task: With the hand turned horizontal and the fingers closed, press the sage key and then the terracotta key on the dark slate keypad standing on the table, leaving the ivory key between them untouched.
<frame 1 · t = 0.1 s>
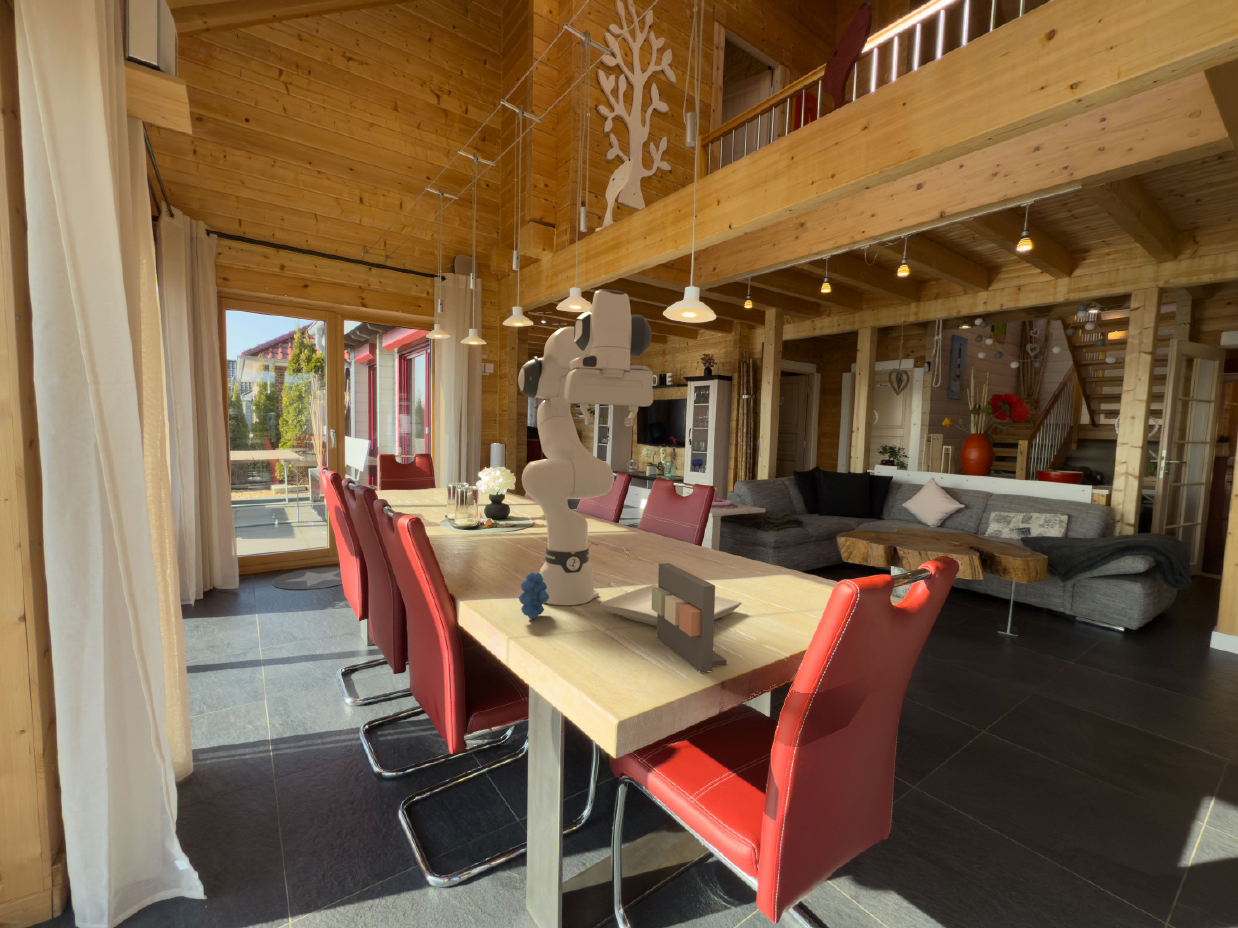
hand: (609, 425, 124), 48 cm above the table, tool pointing down, fingers open, 8 cm apart
key terracotta: (694, 619, 110), point 10 cm above the table, slide at 0.0 cm
grapes: (536, 620, 137), on the table
square plate: (671, 616, 144), on the table
keyguard: (681, 653, 117), on the table
key sage: (664, 600, 122), point 10 cm above the table, slide at 0.0 cm
key ivory: (678, 609, 116), point 10 cm above the table, slide at 0.0 cm
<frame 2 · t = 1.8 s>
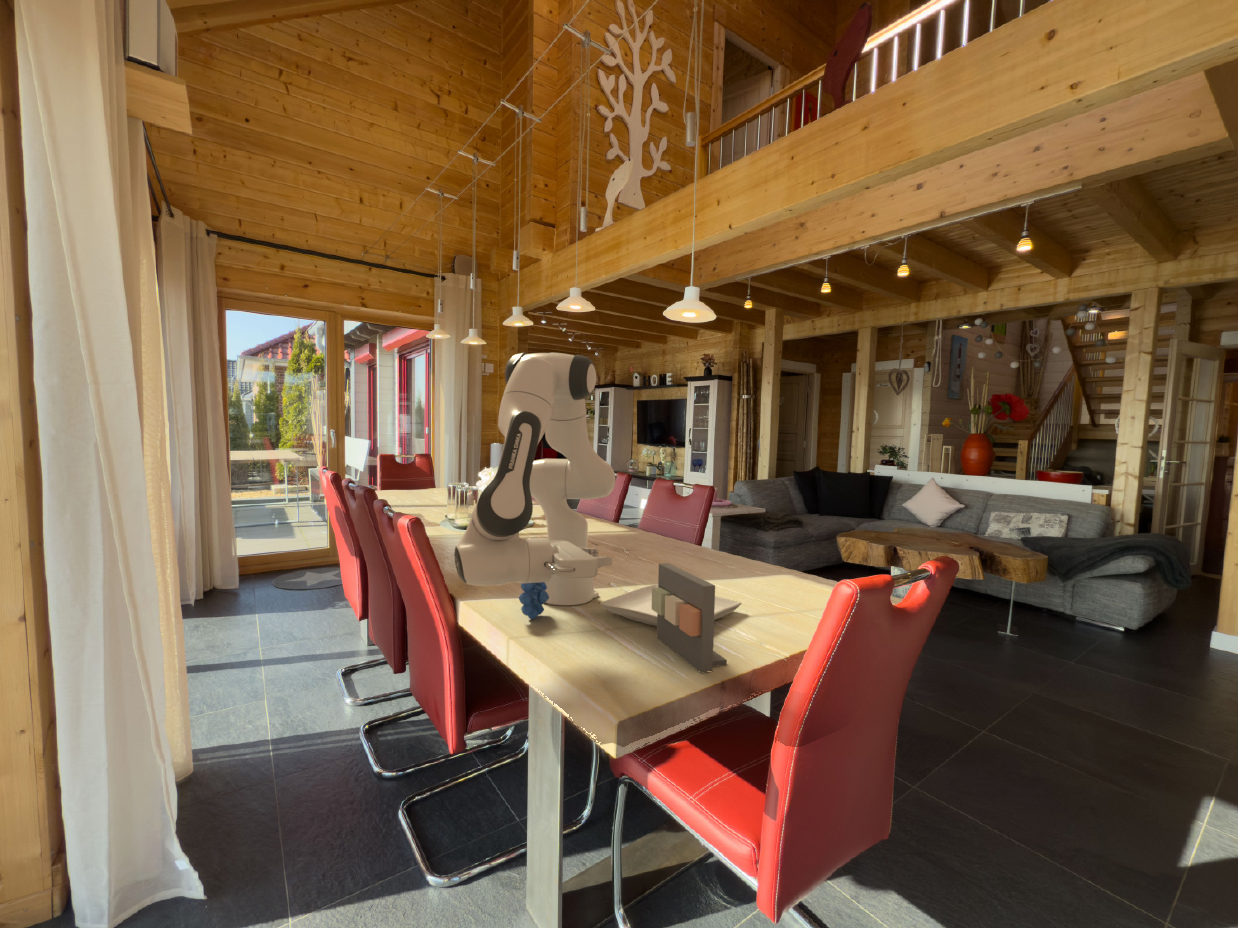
hand: (603, 556, 117), 20 cm above the table, tool horizontal, fingers open, 7 cm apart
nothing on the table moved.
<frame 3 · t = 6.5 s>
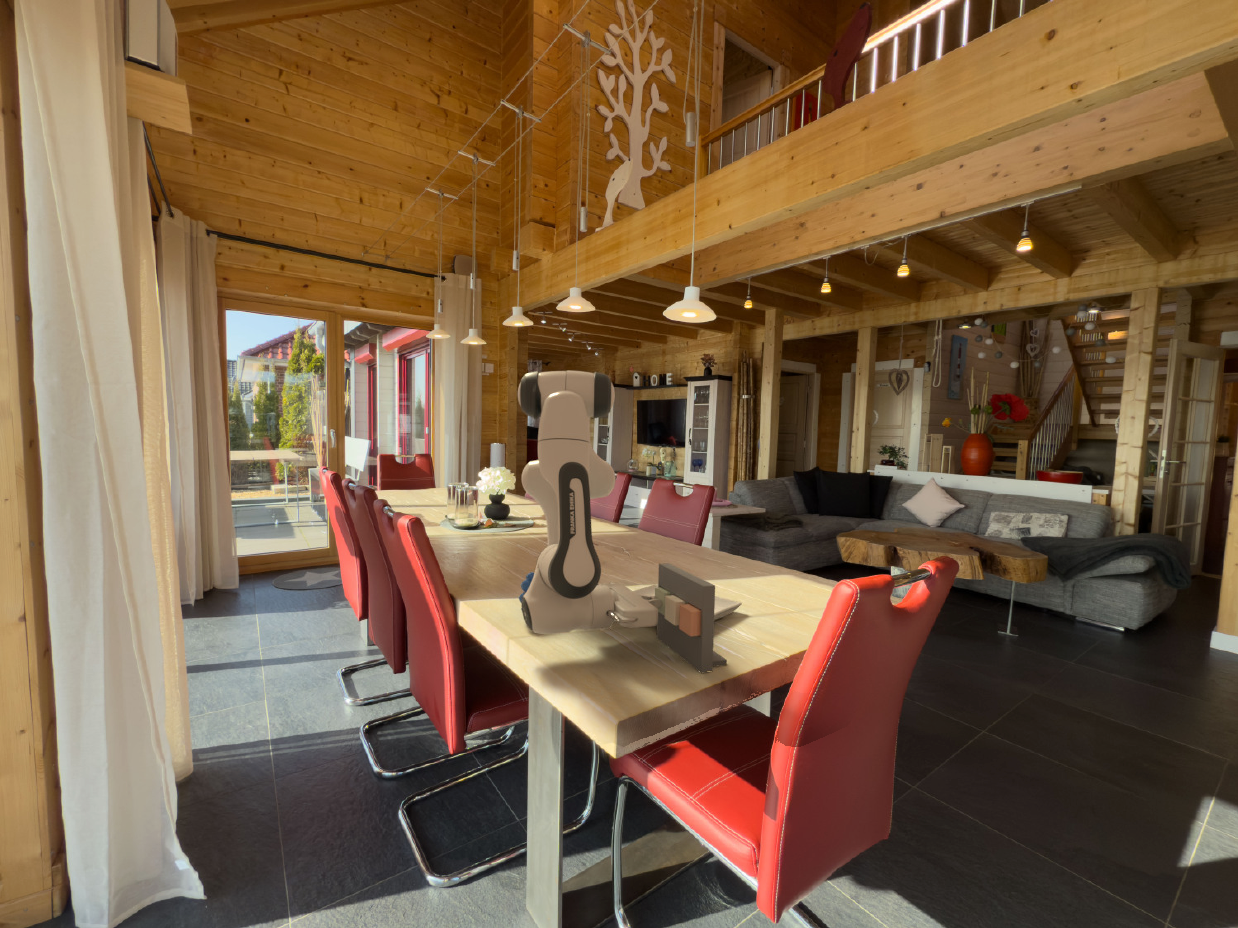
hand: (659, 601, 122), 9 cm above the table, tool horizontal, fingers closed, pressing on key sage
key sage: (667, 600, 123), point 10 cm above the table, slide at 0.7 cm, touching gripper
everything else where it was.
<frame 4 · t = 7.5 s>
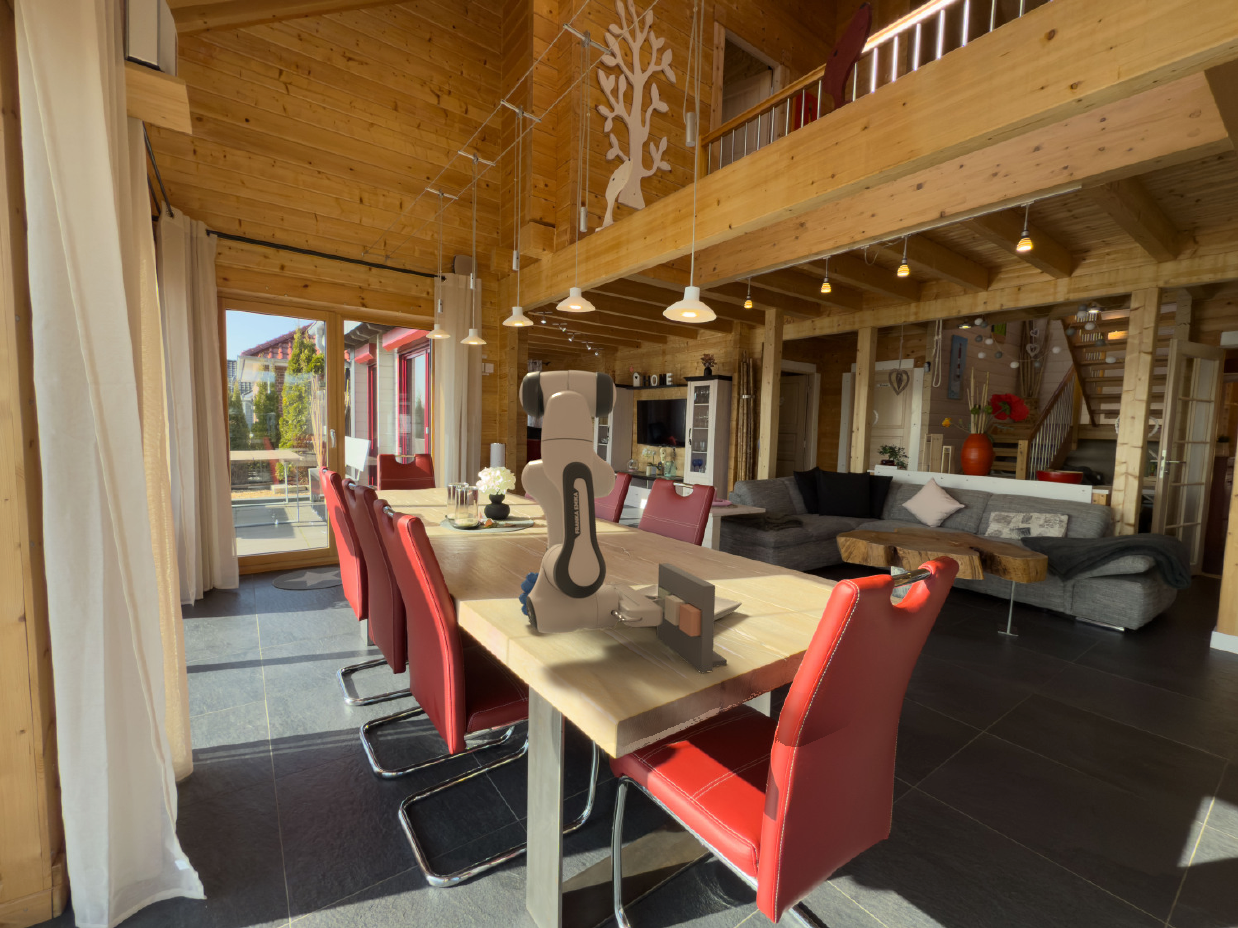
hand: (663, 600, 122), 9 cm above the table, tool horizontal, fingers closed
key sage: (671, 600, 123), point 10 cm above the table, slide at 1.7 cm
everything else where it was.
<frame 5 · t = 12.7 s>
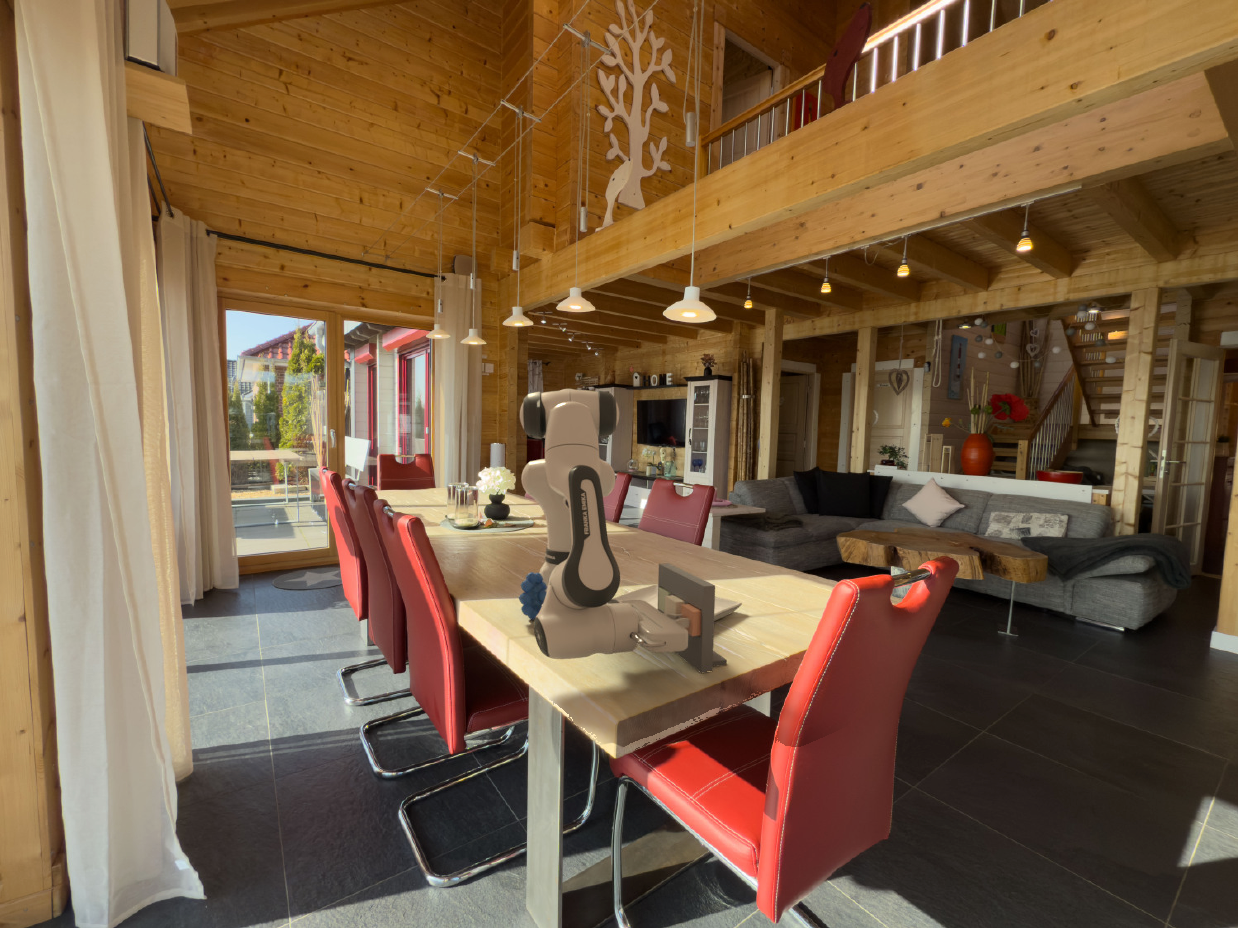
hand: (686, 620, 110), 9 cm above the table, tool horizontal, fingers closed, pressing on key terracotta
key terracotta: (695, 619, 110), point 9 cm above the table, slide at 0.3 cm, touching gripper
square plate: (671, 616, 143), on the table, touching keyguard
everything else where it was.
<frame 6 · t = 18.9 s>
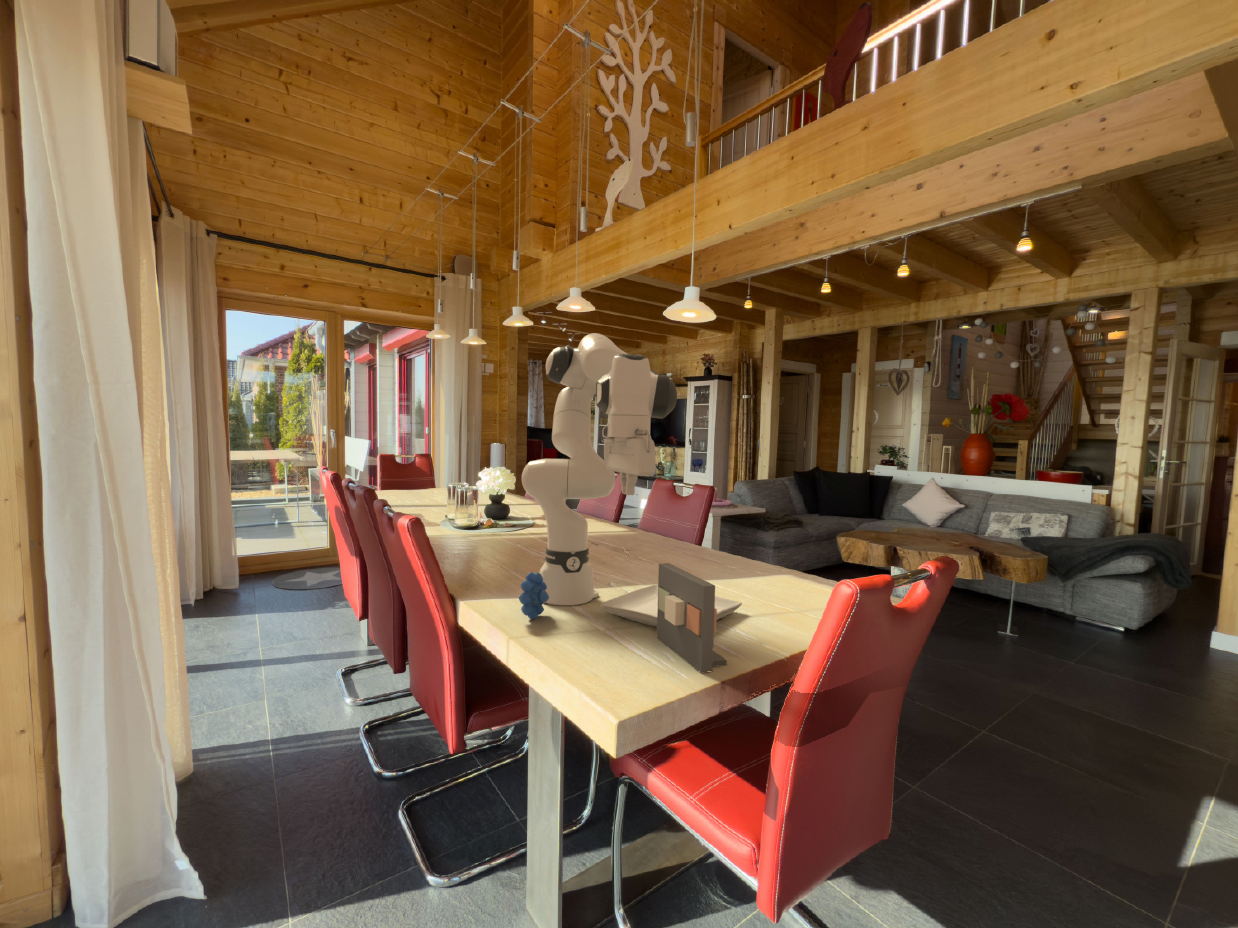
hand: (628, 494, 119), 33 cm above the table, tool pointing down, fingers closed
key terracotta: (701, 618, 111), point 10 cm above the table, slide at 1.7 cm
square plate: (671, 616, 143), on the table
everything else where it was.
at the end: key sage slide at 1.7 cm; key terracotta slide at 1.7 cm; key ivory slide at 0.0 cm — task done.
